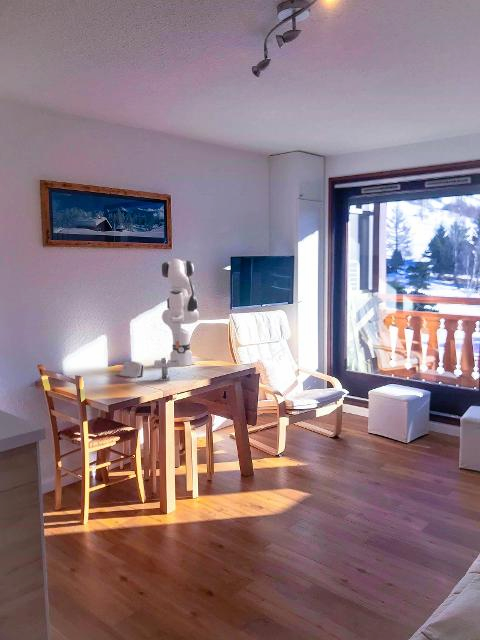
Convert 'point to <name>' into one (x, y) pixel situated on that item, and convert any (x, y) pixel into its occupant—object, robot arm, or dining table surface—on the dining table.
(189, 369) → the dining table surface
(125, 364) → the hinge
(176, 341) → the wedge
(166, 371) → the grey t-bar
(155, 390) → the dining table surface
